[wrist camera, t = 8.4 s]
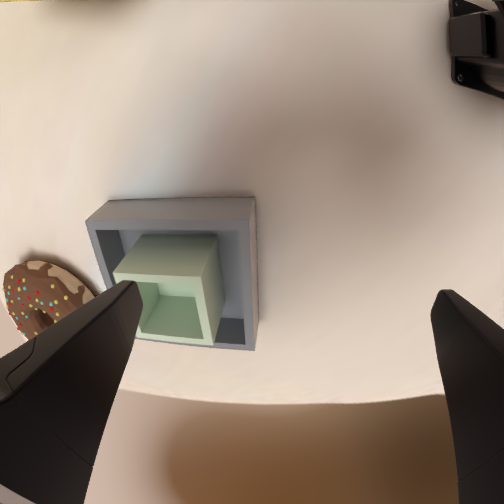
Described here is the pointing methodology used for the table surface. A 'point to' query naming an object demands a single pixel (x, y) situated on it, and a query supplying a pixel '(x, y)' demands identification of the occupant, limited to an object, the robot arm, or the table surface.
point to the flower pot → (16, 0)
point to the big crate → (190, 223)
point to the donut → (41, 295)
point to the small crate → (176, 286)
